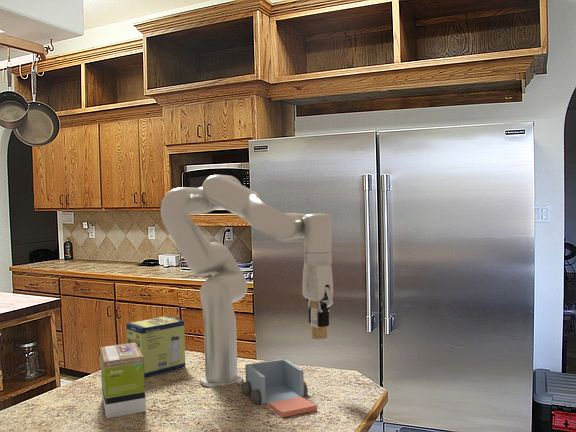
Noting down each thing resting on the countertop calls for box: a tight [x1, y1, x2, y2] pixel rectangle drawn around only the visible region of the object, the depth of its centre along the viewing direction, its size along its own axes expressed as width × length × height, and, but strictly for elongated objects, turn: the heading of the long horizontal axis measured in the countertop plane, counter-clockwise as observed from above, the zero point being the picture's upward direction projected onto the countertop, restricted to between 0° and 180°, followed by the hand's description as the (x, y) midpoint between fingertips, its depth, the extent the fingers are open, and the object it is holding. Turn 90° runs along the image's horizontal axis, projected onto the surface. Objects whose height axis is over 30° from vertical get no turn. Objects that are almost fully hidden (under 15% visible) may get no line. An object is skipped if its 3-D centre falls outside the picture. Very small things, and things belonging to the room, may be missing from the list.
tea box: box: [99, 342, 147, 419], centre depth 140 cm, size 15×10×15 cm
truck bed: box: [241, 358, 309, 406], centre depth 144 cm, size 12×15×8 cm
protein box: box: [125, 315, 186, 379], centre depth 170 cm, size 10×16×16 cm
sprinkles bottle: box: [310, 298, 328, 340], centre depth 146 cm, size 5×5×13 cm
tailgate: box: [267, 397, 318, 418], centre depth 134 cm, size 1×9×9 cm
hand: (318, 323), depth 146 cm, fingers closed on sprinkles bottle, 4 cm apart
